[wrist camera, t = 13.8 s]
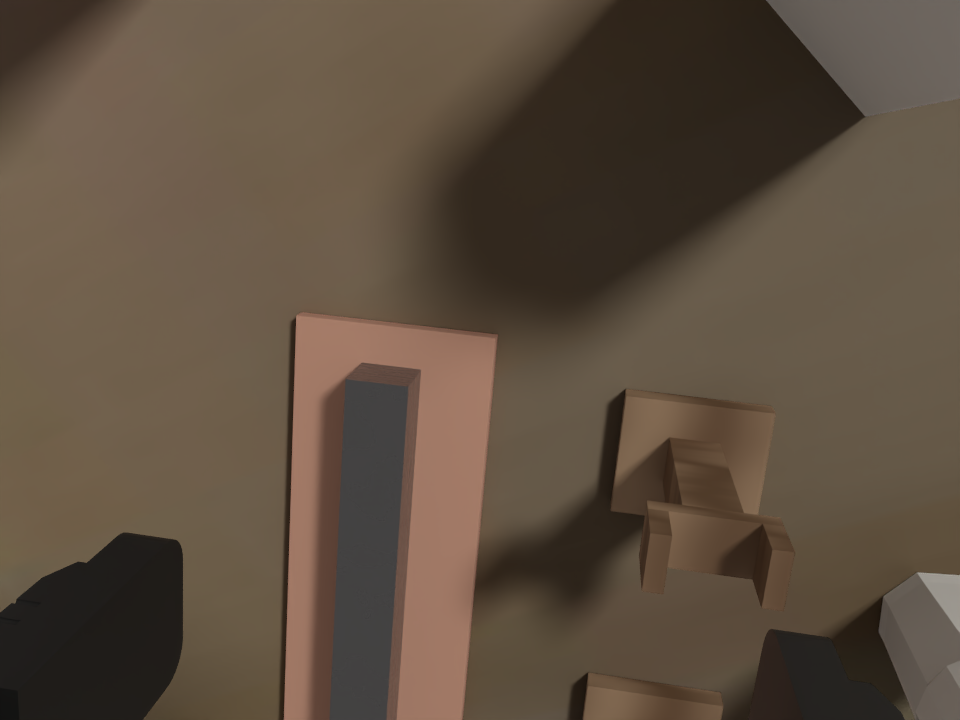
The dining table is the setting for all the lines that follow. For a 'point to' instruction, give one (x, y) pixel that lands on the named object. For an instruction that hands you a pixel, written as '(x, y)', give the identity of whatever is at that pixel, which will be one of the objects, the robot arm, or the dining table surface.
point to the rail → (373, 540)
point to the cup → (925, 642)
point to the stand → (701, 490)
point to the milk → (882, 48)
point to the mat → (434, 513)
